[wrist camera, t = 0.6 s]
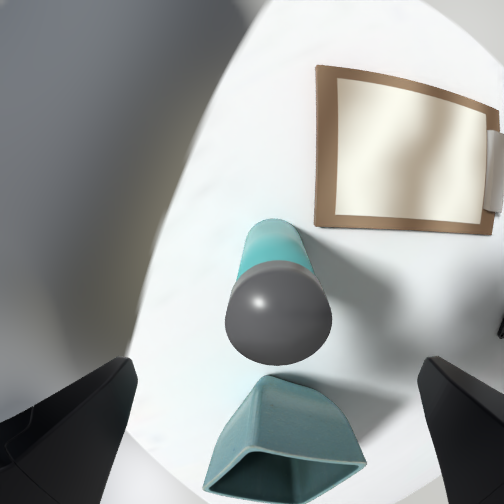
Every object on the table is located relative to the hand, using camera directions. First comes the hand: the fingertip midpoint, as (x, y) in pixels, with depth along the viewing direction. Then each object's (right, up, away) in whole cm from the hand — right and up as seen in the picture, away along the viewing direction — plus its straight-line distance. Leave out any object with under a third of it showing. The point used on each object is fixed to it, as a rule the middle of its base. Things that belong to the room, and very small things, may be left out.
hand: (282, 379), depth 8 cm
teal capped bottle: (+1, +4, +11) cm, 12 cm away
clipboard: (+11, +10, +8) cm, 17 cm away
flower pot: (+2, -9, +16) cm, 18 cm away
